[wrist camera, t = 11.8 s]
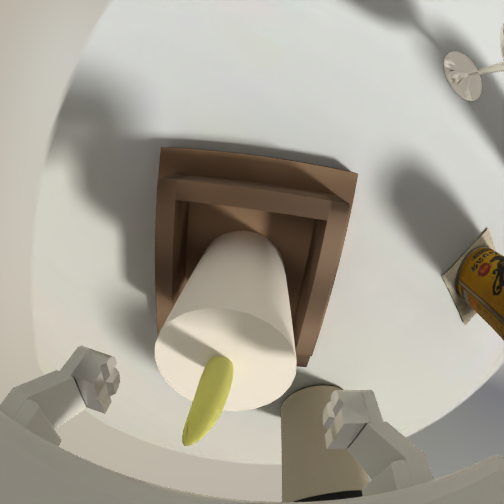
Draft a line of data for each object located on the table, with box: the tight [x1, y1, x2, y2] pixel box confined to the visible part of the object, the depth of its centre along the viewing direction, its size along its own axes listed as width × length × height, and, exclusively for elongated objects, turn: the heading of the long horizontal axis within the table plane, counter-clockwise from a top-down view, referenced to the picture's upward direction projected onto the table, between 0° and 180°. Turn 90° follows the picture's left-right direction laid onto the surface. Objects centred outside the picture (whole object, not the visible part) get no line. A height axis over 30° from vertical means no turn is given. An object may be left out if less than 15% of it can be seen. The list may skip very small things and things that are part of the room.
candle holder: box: [155, 147, 358, 367], centre depth 20 cm, size 16×14×5 cm
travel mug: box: [281, 385, 369, 502], centre depth 20 cm, size 8×8×18 cm
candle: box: [155, 230, 297, 446], centre depth 14 cm, size 6×6×15 cm
